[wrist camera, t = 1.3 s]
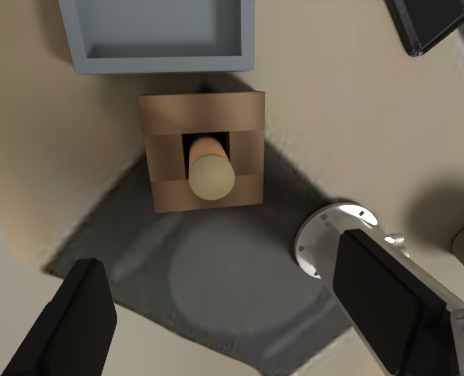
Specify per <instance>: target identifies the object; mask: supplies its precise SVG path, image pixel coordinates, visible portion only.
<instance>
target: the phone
mask: <svg viewBox="0 0 464 376" xmlns="http://www.w3.org/2000/svg"><path fill="white" fill-rule="evenodd" d="M386 2H387V4H388V7H389V9H390V12H391V14H392V17H393V19H394V22H395V24H396V27H397V29H398V32H399V34H400V37H401V39H402V42H403V44H404V47H405V49H406V52H407V54H408V55H409V56H412V57H416V56H422V55H423V54H425V53H426V52H427V51H429V50H430V49H431V48H432V47H434V46H435V45H436V44H438V43H439V42H440V41H441V40H443V39H444V38H445V37H447V36H448V35H449V34H450V33H452V32H453V31H454V30H455V29H457V28H458V27H459V26H461V25H462V24H463V23H464V0H386Z"/></svg>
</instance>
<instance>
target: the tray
mask: <svg viewBox="0 0 464 376" xmlns="http://www.w3.org/2000/svg"><path fill="white" fill-rule="evenodd" d="M58 1H59V6H60V10H61V14H62V18H63V23H64V27H65V31H66V36H67V40H68V44H69V48H70V53H71V57H72V61H73V65H74V70H75V74H83V75H111V74H152V73H194V72H236V71H251V70H254V0H58Z"/></svg>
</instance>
